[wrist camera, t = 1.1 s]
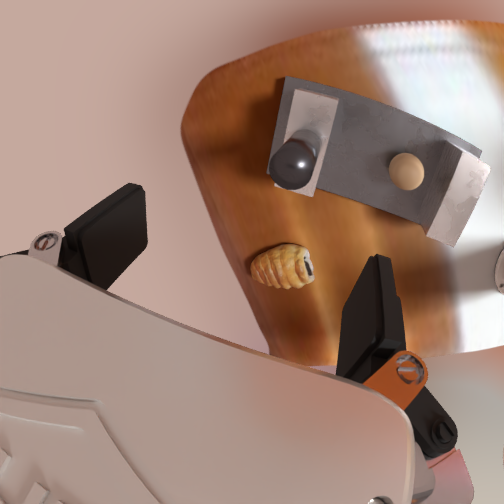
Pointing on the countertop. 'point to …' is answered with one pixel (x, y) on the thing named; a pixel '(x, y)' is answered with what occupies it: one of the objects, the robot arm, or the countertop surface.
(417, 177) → the tan wooden ball
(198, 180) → the countertop surface
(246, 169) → the countertop surface
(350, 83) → the countertop surface
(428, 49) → the countertop surface
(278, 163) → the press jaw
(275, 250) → the pastry
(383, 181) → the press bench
